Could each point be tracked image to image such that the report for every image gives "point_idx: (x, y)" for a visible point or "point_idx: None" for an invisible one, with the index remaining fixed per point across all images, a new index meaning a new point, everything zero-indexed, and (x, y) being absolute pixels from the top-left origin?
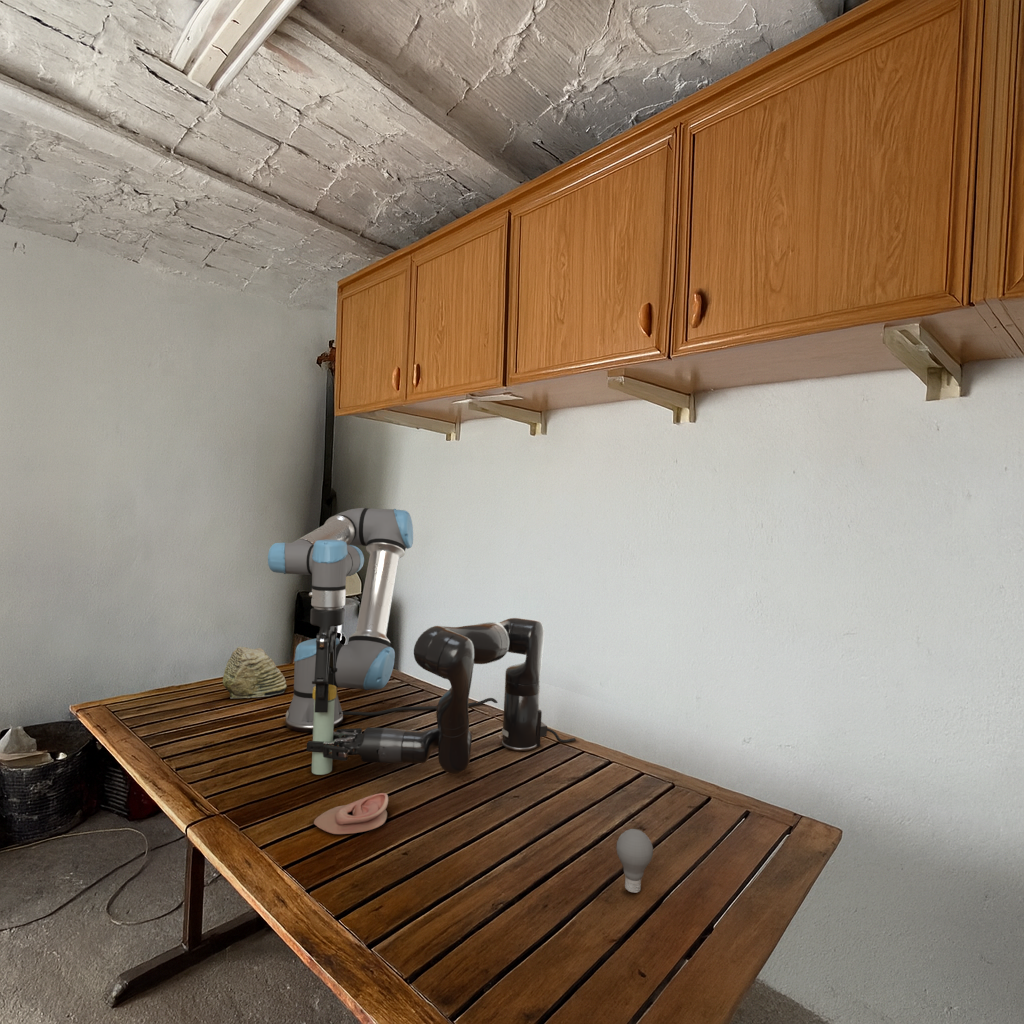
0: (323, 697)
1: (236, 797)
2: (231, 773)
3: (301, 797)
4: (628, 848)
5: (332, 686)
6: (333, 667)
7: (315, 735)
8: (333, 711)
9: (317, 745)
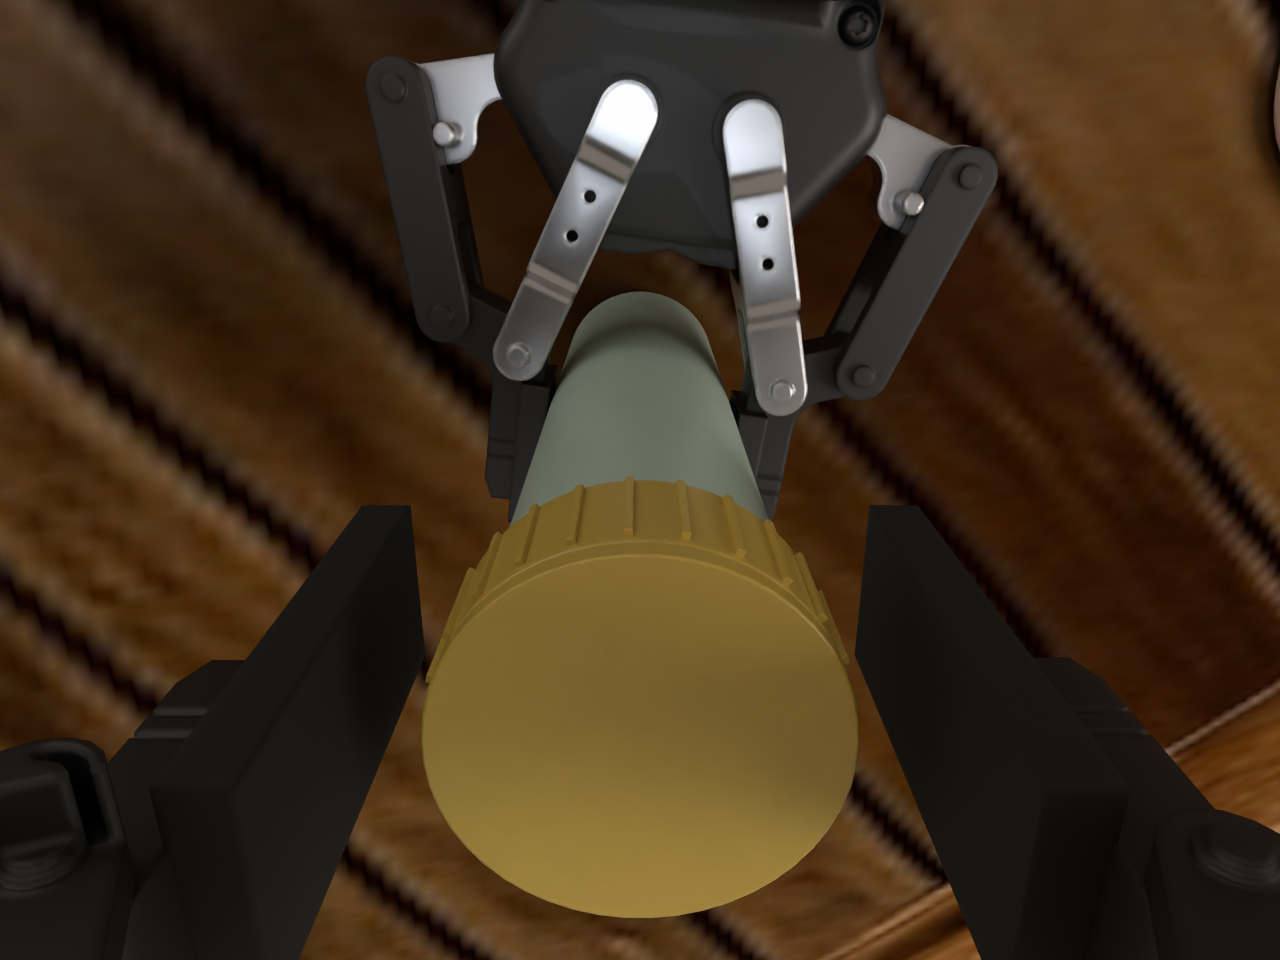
0: (1092, 680)
1: None
2: None
3: (1038, 421)
4: None
5: (558, 636)
6: (108, 934)
7: None
8: (669, 431)
9: (786, 456)
